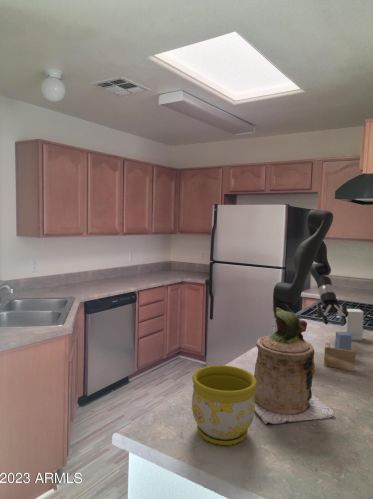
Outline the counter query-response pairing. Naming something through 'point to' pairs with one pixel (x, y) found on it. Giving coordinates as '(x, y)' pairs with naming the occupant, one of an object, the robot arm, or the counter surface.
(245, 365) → the counter surface
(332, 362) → the oak corner bracket
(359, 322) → the skincare box
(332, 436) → the counter surface
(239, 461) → the counter surface
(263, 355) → the cookie jar
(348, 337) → the slate block
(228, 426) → the flowerpot
